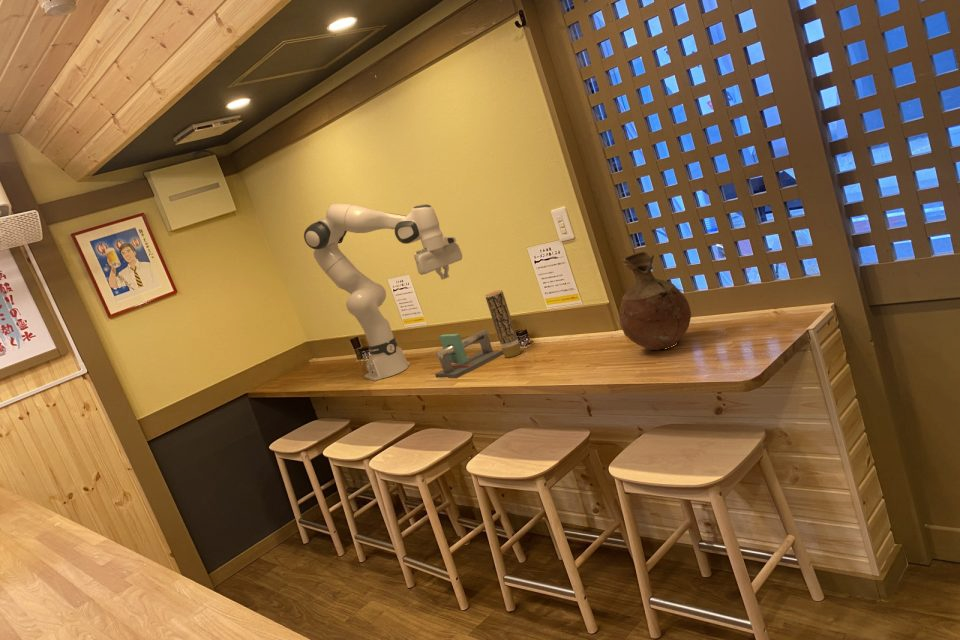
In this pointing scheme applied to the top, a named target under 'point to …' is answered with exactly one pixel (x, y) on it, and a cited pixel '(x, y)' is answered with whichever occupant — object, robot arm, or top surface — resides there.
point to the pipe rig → (479, 336)
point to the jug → (652, 307)
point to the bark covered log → (503, 323)
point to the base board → (470, 364)
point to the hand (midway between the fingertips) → (445, 278)
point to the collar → (458, 347)
